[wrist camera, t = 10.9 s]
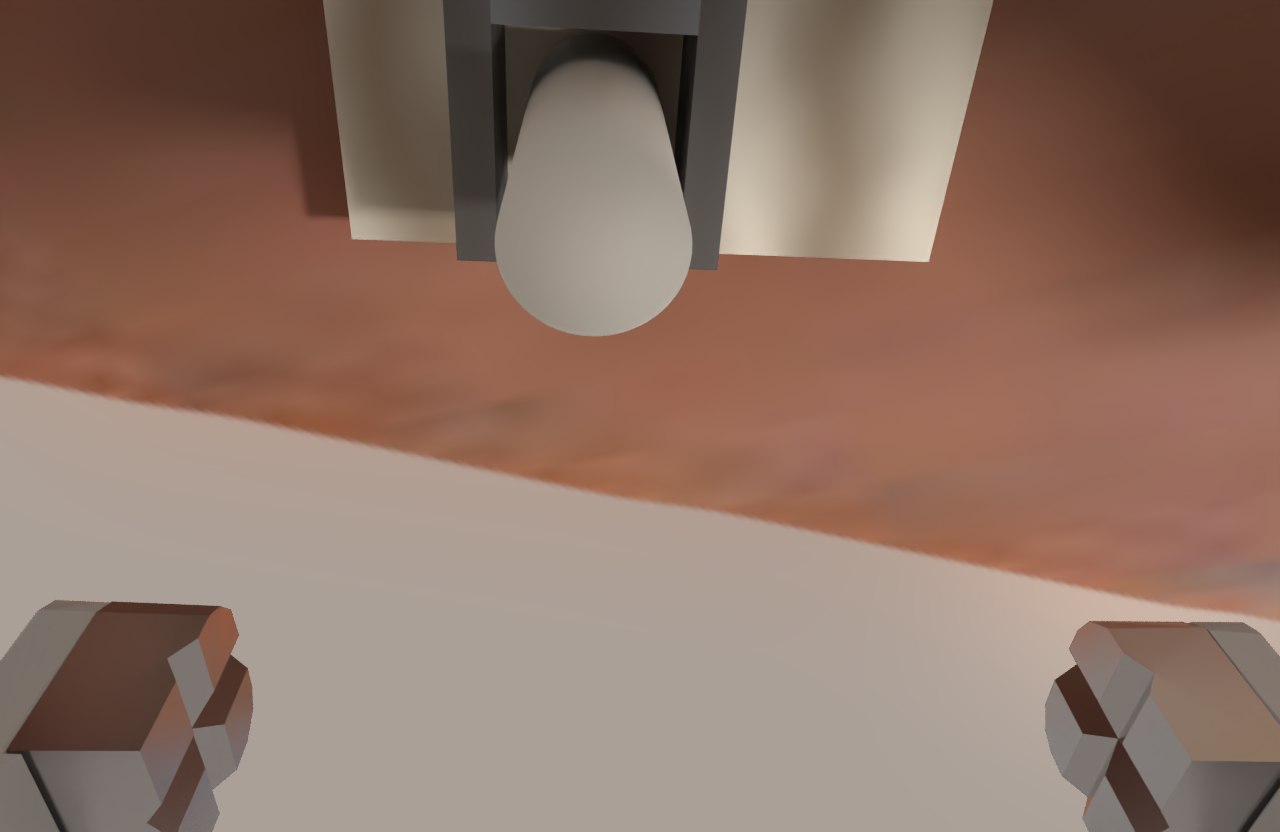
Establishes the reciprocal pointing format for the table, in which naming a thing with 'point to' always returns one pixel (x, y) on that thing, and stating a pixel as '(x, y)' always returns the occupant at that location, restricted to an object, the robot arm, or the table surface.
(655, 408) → the table surface
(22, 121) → the table surface
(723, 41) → the canopy socket
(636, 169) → the peg
